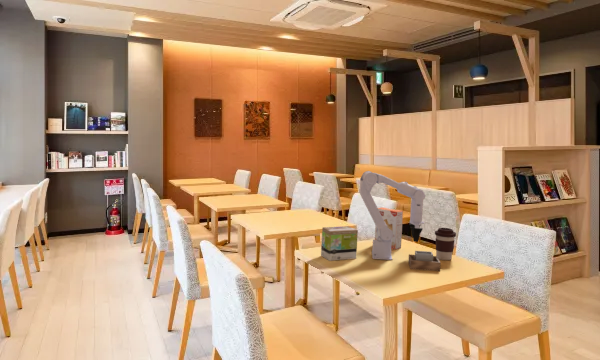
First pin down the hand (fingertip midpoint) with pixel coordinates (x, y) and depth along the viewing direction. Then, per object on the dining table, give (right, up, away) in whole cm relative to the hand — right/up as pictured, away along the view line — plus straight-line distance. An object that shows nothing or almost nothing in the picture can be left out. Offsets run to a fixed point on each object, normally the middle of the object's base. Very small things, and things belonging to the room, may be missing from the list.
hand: (415, 239), depth 206 cm
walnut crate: (0, -11, -13) cm, 17 cm away
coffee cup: (+15, -10, +2) cm, 18 cm away
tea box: (-38, -9, -1) cm, 39 cm away
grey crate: (0, -10, -13) cm, 16 cm away
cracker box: (-9, -7, +23) cm, 26 cm away
